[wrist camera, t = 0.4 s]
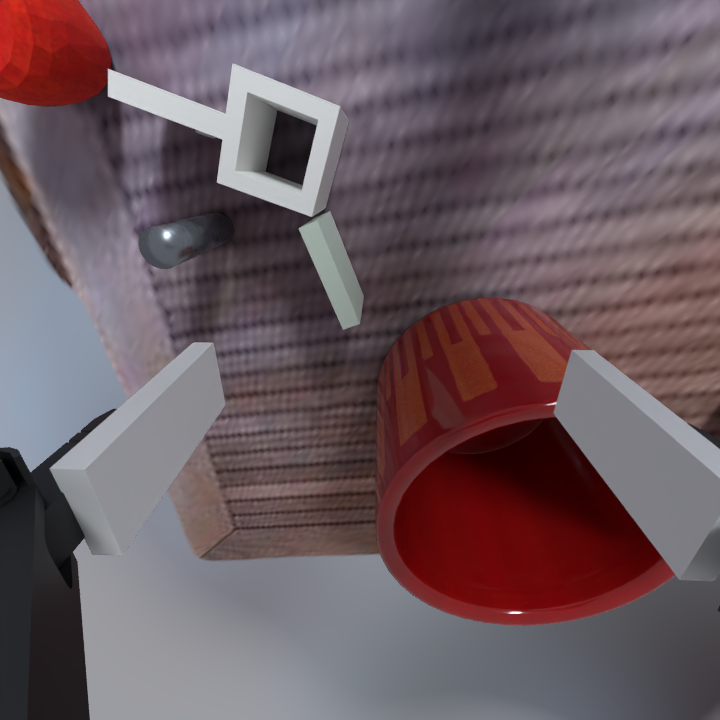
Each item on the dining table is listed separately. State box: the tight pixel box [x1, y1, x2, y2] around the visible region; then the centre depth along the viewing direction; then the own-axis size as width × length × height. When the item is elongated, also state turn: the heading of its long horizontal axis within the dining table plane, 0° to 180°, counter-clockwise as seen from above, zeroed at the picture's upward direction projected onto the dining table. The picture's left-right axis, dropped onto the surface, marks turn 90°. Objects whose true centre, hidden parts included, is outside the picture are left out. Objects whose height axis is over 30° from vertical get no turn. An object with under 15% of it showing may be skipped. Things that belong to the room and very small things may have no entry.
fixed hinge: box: [108, 64, 349, 217], centre depth 29 cm, size 7×15×8 cm, turn 71°
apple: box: [0, 0, 112, 106], centre depth 26 cm, size 9×9×11 cm
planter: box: [375, 298, 675, 626], centre depth 34 cm, size 23×23×20 cm
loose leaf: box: [299, 211, 364, 330], centre depth 33 cm, size 2×9×8 cm, turn 21°
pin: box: [139, 212, 234, 269], centre depth 31 cm, size 3×3×11 cm
